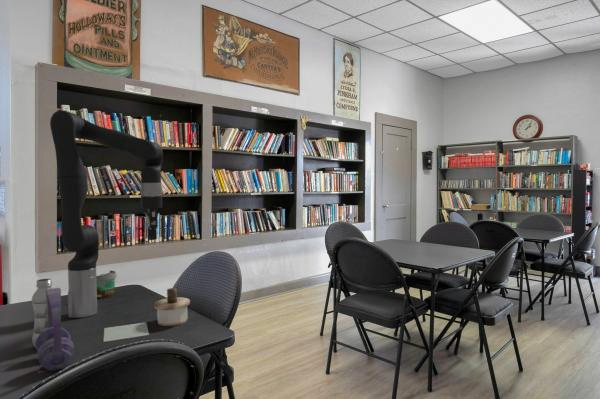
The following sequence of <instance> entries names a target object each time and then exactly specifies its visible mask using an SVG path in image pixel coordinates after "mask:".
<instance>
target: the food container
mask: <svg viewBox="0 0 600 399" xmlns="http://www.w3.org/2000/svg"><path fill="white" fill-rule="evenodd" d="M117 277H118V275H117V273H116V270H109V272H107V273H102V274H100V275H96V281H97V298H102V299H107V298H106V297H108V298H111V296H112V297H113V295H114V296H115V286H116V285H115V284H116V278H117Z"/></svg>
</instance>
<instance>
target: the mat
mask: <svg viewBox="0 0 600 399" xmlns="http://www.w3.org/2000/svg"><path fill="white" fill-rule="evenodd" d="M148 329H149V328H148V324H147V322H139V323H138V322H137V323H134V324H133V323H131V324H125V325H118V326H110V327H109V326H108V327H104V328H103V330H104V331H103V342H104V343H105V342H112V341H113V342H114V341H118V340H124V339H132V338H138V337H144V336H149V335H150V333H149V330H148Z"/></svg>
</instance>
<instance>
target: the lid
mask: <svg viewBox="0 0 600 399" xmlns="http://www.w3.org/2000/svg"><path fill="white" fill-rule="evenodd" d="M177 290H178V289H177V288H176V287H172V288H171V287H170V288H168V289H166V291H167V292H166V298H163V299H159V300H156V301H155V302H154V303H153V307H154V309H156V310H157V309H158V310H175V309H180V308H184V307H187V308H188V306H189V305H190V304H191V300H190V299H189V298H187V297H181V296H180V297H179V296H178V294H177V293H178V291H177Z"/></svg>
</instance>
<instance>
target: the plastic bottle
mask: <svg viewBox="0 0 600 399" xmlns="http://www.w3.org/2000/svg"><path fill="white" fill-rule="evenodd" d="M52 285H53V283H52V278H40V279H37V280H36V285H35V286H36V288H37V289H36V290H35V292H34V293H33V295H32V297H31V304H32V309H33V317H34V318H33V319H34V323H33V333H32V337H31V342H32V345H33V347H34V348H35V349H36V340H37V338H38V336H39V335H40V334H41V333H42V332H43V331H44V330H46V329H48V305H47V296H46V291H45V290H46V289H53V287H52Z"/></svg>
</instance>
